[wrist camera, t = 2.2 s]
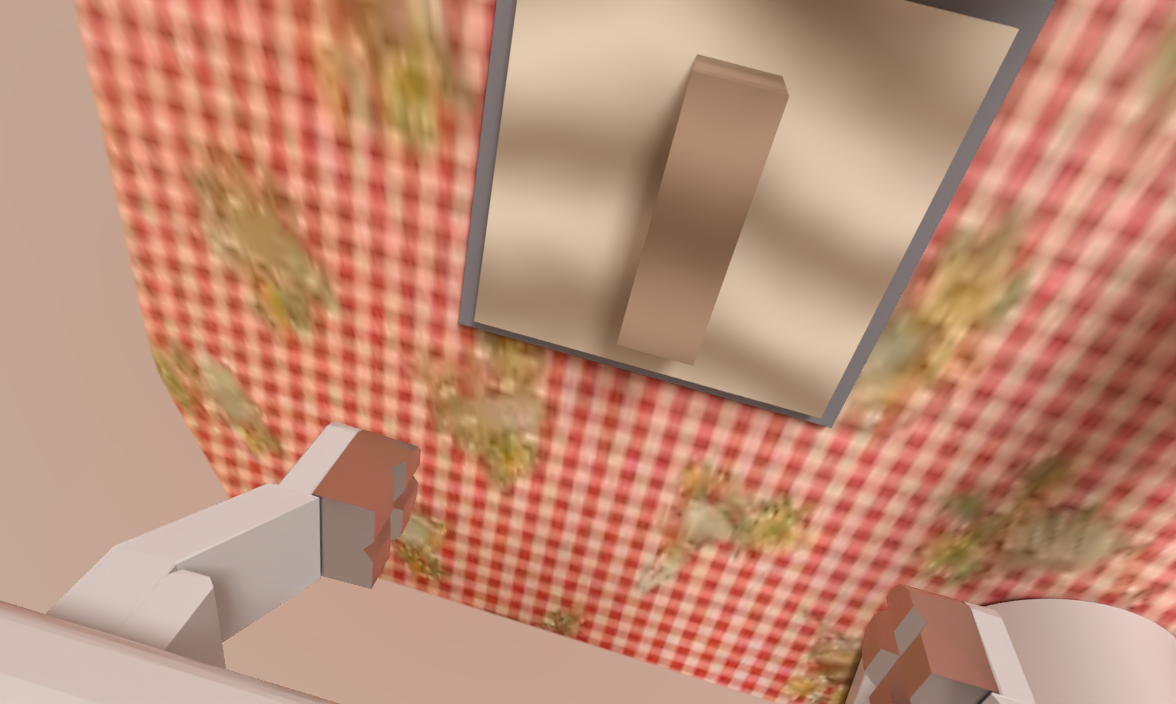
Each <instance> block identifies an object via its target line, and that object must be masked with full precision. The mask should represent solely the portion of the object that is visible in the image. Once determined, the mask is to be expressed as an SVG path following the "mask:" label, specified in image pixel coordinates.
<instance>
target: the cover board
mask: <svg viewBox="0 0 1176 704" xmlns="http://www.w3.org/2000/svg"><path fill="white" fill-rule="evenodd" d="M1018 31H1019V29H1017V28H1014V27H1011V26H1008V25H1004V24H1000V23H996V22H992V21H988V20H984V19H980V18H976V17H972V16H968V15H964V14H960V13H956V12H952V11H948V10H944V9H940V8H936V7H932V6H928V5H924V4H920V3H916V2H912V1H908V0H517V5H516V13H515V20H514V28H513V35H512V43H511V50H510V57H509V65H508V72H507V80H506V87H505V95H504V102H503V110H502V117H501V125H500V132H499V140H498V147H497V155H496V162H495V170H494V177H493V185H492V192H491V200H490V207H489V214H488V222H487V229H486V237H485V244H484V252H483V259H482V267H481V274H480V282H479V289H478V297H477V304H476V312H475V319H474V321H475V322H479V323H482V324H486V325H489V326H493V327H496V328H500V329H504V330H507V331H511V332H514V333H518V334H521V335H525V336H529V337H532V338H536V339H539V340H543V341H546V342H550V343H554V344H557V345H561V346H564V347H568V348H571V349H575V350H579V351H582V352H586V353H589V354H593V355H596V356H600V357H604V358H607V359H611V360H614V361H618V362H621V363H625V364H629V365H632V366H636V367H639V368H643V369H646V370H650V371H654V372H657V373H661V374H664V375H668V376H671V377H675V378H679V379H682V380H686V381H689V382H693V383H696V384H700V385H704V386H707V387H711V388H714V389H718V390H721V391H725V392H729V393H732V394H736V395H739V396H743V397H746V398H750V399H754V400H757V401H761V402H764V403H768V404H771V405H775V406H779V407H782V408H786V409H789V410H793V411H796V412H800V413H804V414H807V415H811V416H814V417H818V418H821V417H822V415H823V413H824V411H825V409H826V407H827V405H828V403H829V401H830V399H831V397H832V396H833V394H834V392H835V390H836V388H837V386H838V384H839V382H840V380H841V378H842V376H843V374H844V372H845V370H846V368H847V366H848V364H849V362H850V360H851V358H852V356H853V354H854V352H855V350H856V348H857V346H858V345H859V343H860V341H861V339H862V337H863V335H864V333H865V331H866V329H867V327H868V325H869V323H870V321H871V319H872V317H873V315H874V313H875V311H876V309H877V307H878V305H879V303H880V301H881V299H882V297H883V295H884V293H885V292H886V290H887V288H888V286H889V284H890V282H891V280H892V278H893V276H894V274H895V272H896V270H897V268H898V266H899V264H900V262H901V260H902V258H903V256H904V254H905V252H906V250H907V248H908V246H909V244H910V242H911V241H912V239H913V237H914V235H915V233H916V231H917V229H918V227H919V225H920V223H921V221H922V219H923V217H924V215H925V213H926V211H927V209H928V207H929V205H930V203H931V201H932V199H933V197H934V195H935V193H936V191H937V190H938V188H939V186H940V184H941V182H942V180H943V178H944V176H945V174H946V172H947V170H948V168H949V166H950V164H951V162H952V160H953V158H954V156H955V154H956V152H957V150H958V148H959V146H960V144H961V142H962V140H963V139H964V137H965V135H966V133H967V131H968V129H969V127H970V125H971V123H972V121H973V119H974V117H975V115H976V113H977V111H978V109H979V107H980V105H981V103H982V101H983V99H984V97H985V95H986V93H987V91H988V89H989V88H990V86H991V84H992V82H993V80H994V78H995V76H996V74H997V72H998V70H999V68H1000V66H1001V64H1002V62H1003V60H1004V58H1005V56H1006V54H1007V52H1008V50H1009V48H1010V46H1011V44H1012V42H1013V40H1014V38H1015V36H1016V35H1017V33H1018Z"/></svg>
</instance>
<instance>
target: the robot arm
mask: <svg viewBox="0 0 1176 704" xmlns="http://www.w3.org/2000/svg"><path fill="white" fill-rule="evenodd" d="M420 451H421V449H420V448H419V447H418V446H414V445H411V444H408V443H405V442H402V441H398V440H395V439H392V438H389V437H386V436H382V435H379V434H376V433H373V432H370V431H366V430H361V429H358V428H355V427H351V426H348V425H345V424H342V423H339V422H336V421H335V422H333V423H331V424H329V425H328V426H326V427H325V429H324V430H323V431H322V432H321V433H320V435H319V436H318V437H317V438H316V439H315V441H314V442H313V443H312V444H311V445H310V447H309V448H308V449H307V450H306V452H305V453H304V454H303V455H302V456H301V458H300V459H299V460H298V461H297V462H296V464H295V465H294V466H293V467H292V468H291V470H290V471H289V472H288V473H287V475H286V476H285V477H284V478H283V479H282V481H281V482H280V483H279V484H278V485H276V484H272V483H267V484H265V485H262V486H260V487H258V488H255V489H253V490H250V491H248V492H245V493H243V494H240V495H238V496H236V497H233V498H231V499H228V500H226V501H223V502H221V503H218V504H216V505H213V506H211V507H209V508H206V509H204V510H202V511H199V512H196V513H194V514H191V515H189V516H187V517H184V518H182V519H179V520H177V521H174V522H172V523H169V524H167V525H164V526H162V527H159V528H157V529H155V530H152V531H150V532H147V533H145V534H142V535H140V536H137V537H135V538H132V539H130V540H128V541H125V542H123V543H120V544H118V545H115V546H114V547H113V548H112V549H111V550H110V551H109V552H108V553H107V554H106V555H105V556H104V557H103V558H102V559H101V560H100V561H99V562H98V563H97V564H96V565H95V566H94V567H93V568H92V569H91V570H90V571H89V572H88V573H87V574H86V575H85V576H84V577H82V578H81V579H80V581H78V582H77V583H76V584H75V585H74V586H73V587H72V588H71V589H70V590H69V591H68V592H67V593H66V594H65V595H64V596H63V597H62V598H61V599H60V600H59V601H58V602H57V603H56V604H55V605H54V606H53V607H52V608H51V609H50V610H49V611H48V612H47V613H46V614H43V613H39V612H36V611H32V610H29V609H26V608H23V607H20V606H16V605H13V604H10V603H6V602H3V601H0V704H339V703H336V702H332V701H329V700H326V699H322V698H319V697H316V696H312V695H309V694H306V693H302V692H299V691H296V690H293V689H289V688H286V687H283V686H280V685H276V684H273V683H270V682H266V681H263V680H260V679H256V678H253V677H250V676H246V675H243V674H240V673H237V672H233V671H230V670H227V669H226V667H225V660H224V653H223V647H222V642H224V641H225V640H227V639H229V638H230V637H232V636H233V635H235V634H236V633H238V632H239V631H241V630H243V629H244V628H246V627H247V626H249V625H250V624H252V623H253V622H255V621H256V620H258V619H259V618H261V617H262V616H264V615H266V614H267V613H269V612H270V611H272V610H273V609H275V608H276V607H278V606H279V605H281V604H282V603H284V602H285V601H287V600H288V599H290V598H292V597H293V596H295V595H296V594H298V593H299V592H301V591H302V590H304V589H306V588H307V587H309V586H310V585H312V584H313V583H315V582H316V581H318V580H319V579H320V578H321V576H325V577H328V578H332V579H336V580H340V581H344V582H347V583H351V584H355V585H358V586H363V587H366V588H370V589H371V588H372V587H373V585H374V583H375V582H376V580H377V578H378V576H379V575H380V573H381V571H382V569H383V567H384V566H385V564H386V562H387V560H388V558H389V554H390V542H391V541H393V540H395V539H396V538H398V537H400V536H401V535H402V533H403V531H404V529H405V527H406V525H407V523H408V521H409V518H410V516H411V513H412V510H413V508H414V504H415V500H416V495H417V488H418V482H417V481H416V479H415V478H414V476H413V475H414V473H415V472H416V470H417V468H418V466H419V465H420ZM886 599H887V603H888V608H889V609H888V610H885V611H882V612H880V613H877V614H874V616H873V617H872V619H871V621H870V622H869V624H868V625H867V627H866V630H865V634H864V638H863V642H862V658H861V661H860V663H859V666H858V669H857V672H856V674H855V677H854V680H853V683H852V685H851V688H850V691H849V694H848V696H847V699H846V702H845V704H1176V638H1175V637H1174V636H1173V635H1172V634H1171V633H1169V632H1168V631H1167V630H1165V629H1164V628H1162V627H1161V626H1159V625H1157V624H1156V623H1154V622H1152V621H1150V620H1148V619H1146V618H1144V617H1142V616H1140V615H1137V614H1135V613H1132V612H1129V611H1126V610H1123V609H1120V608H1116V607H1113V606H1109V605H1104V604H1099V603H1094V602H1088V601H1080V600H1069V599H1029V600H1018V601H1010V602H1004V603H998V604H993V605H989V606H985V607H983V606H979V605H975V604H972V603H968V602H964V601H959V600H957V599H953V598H949V597H946V596H942V595H939V594H935V593H931V592H928V591H924V590H920V589H917V588H913V587H910V586H906V585H902V584H900V585H898V586H897V587H895V588H893V589H892V591H891V592H890V594H889V595H888V596H887V598H886Z"/></svg>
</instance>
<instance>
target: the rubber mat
mask: <svg viewBox="0 0 1176 704" xmlns="http://www.w3.org/2000/svg"><path fill="white" fill-rule="evenodd" d="M908 1H912V2H916V3H920V4H924V5H928V6H932V7H936V8H940V9H944V10H948V11H952V12H956V13H960V14H964V15H968V16H972V17H976V18H980V19H984V20H988V21H992V22H996V23H1000V24H1004V25H1008V26H1011V27H1014V28H1017V29H1019V31H1018V33H1017V35H1016V36H1015V38H1014V40H1013V42H1012V44H1011V46H1010V48H1009V50H1008V52H1007V54H1006V56H1005V58H1004V60H1003V62H1002V64H1001V66H1000V68H999V70H998V72H997V74H996V76H995V78H994V80H993V82H992V84H991V86H990V88H989V89H988V91H987V93H986V95H985V97H984V99H983V101H982V103H981V105H980V107H979V109H978V111H977V113H976V115H975V117H974V119H973V121H972V123H971V125H970V127H969V129H968V131H967V133H966V135H965V137H964V139H963V140H962V142H961V144H960V146H959V148H958V150H957V152H956V154H955V156H954V158H953V160H952V162H951V164H950V166H949V168H948V170H947V172H946V174H945V176H944V178H943V180H942V182H941V184H940V186H939V188H938V190H937V191H936V193H935V195H934V197H933V199H932V201H931V203H930V205H929V207H928V209H927V211H926V213H925V215H924V217H923V219H922V221H921V223H920V225H919V227H918V229H917V231H916V233H915V235H914V237H913V239H912V241H911V242H910V244H909V246H908V248H907V250H906V252H905V254H904V256H903V258H902V260H901V262H900V264H899V266H898V268H897V270H896V272H895V274H894V276H893V278H892V280H891V282H890V284H889V286H888V288H887V290H886V292H885V293H884V295H883V297H882V299H881V301H880V303H879V305H878V307H877V309H876V311H875V313H874V315H873V317H872V319H871V321H870V323H869V325H868V327H867V329H866V331H865V333H864V335H863V337H862V339H861V341H860V343H859V345H858V346H857V348H856V350H855V352H854V354H853V356H852V358H851V360H850V362H849V364H848V366H847V368H846V370H845V372H844V374H843V376H842V378H841V380H840V382H839V384H838V386H837V388H836V390H835V392H834V394H833V396H832V397H831V399H830V401H829V403H828V405H827V407H826V409H825V411H824V413H823V415H822V417H821V418H818V417H814V416H811V415H807V414H804V413H800V412H796V411H793V410H789V409H786V408H782V407H779V406H775V405H771V404H768V403H764V402H761V401H757V400H754V399H750V398H746V397H743V396H739V395H736V394H732V393H729V392H725V391H721V390H718V389H714V388H711V387H707V386H704V385H700V384H696V383H693V382H689V381H686V380H682V379H679V378H675V377H671V376H668V375H664V374H661V373H657V372H654V371H650V370H646V369H643V368H639V367H636V366H632V365H629V364H625V363H621V362H618V361H614V360H611V359H607V358H604V357H600V356H596V355H593V354H589V353H586V352H582V351H579V350H575V349H571V348H568V347H564V346H561V345H557V344H554V343H550V342H546V341H543V340H539V339H536V338H532V337H529V336H525V335H521V334H518V333H514V332H511V331H507V330H504V329H500V328H496V327H493V326H489V325H486V324H482V323H479V322H475V321H474V319H475V312H476V304H477V297H478V289H479V282H480V274H481V267H482V259H483V252H484V244H485V237H486V229H487V222H488V214H489V207H490V200H491V192H492V185H493V177H494V170H495V162H496V155H497V147H498V140H499V132H500V125H501V117H502V110H503V102H504V95H505V87H506V80H507V72H508V65H509V57H510V50H511V43H512V35H513V28H514V20H515V13H516V5H517V0H497V4H496V12H495V20H494V29H493V37H492V46H491V54H490V62H489V71H488V79H487V88H486V96H485V104H484V113H483V121H482V130H481V138H480V146H479V155H478V163H477V172H476V180H475V188H474V197H473V205H472V214H471V222H470V230H469V239H468V247H467V256H466V264H465V272H464V281H463V289H462V298H461V306H460V314H459V324H463V325H466V326H470V327H473V328H477V329H481V330H484V331H488V332H491V333H495V334H498V335H502V336H505V337H509V338H513V339H516V340H520V341H523V342H527V343H530V344H534V345H538V346H541V347H545V348H548V349H552V350H555V351H559V352H563V353H566V354H570V355H573V356H577V357H580V358H584V359H587V360H591V361H595V362H598V363H602V364H605V365H609V366H612V367H616V368H620V369H623V370H627V371H630V372H634V373H637V374H641V375H645V376H648V377H652V378H655V379H659V380H662V381H666V382H669V383H673V384H677V385H680V386H684V387H687V388H691V389H694V390H698V391H702V392H705V393H709V394H712V395H716V396H719V397H723V398H727V399H730V400H734V401H737V402H741V403H744V404H748V405H751V406H755V407H759V408H762V409H766V410H769V411H773V412H776V413H780V414H784V415H787V416H791V417H794V418H798V419H801V420H805V421H809V422H812V423H816V424H819V425H823V426H826V427H830V428H832V426H833V424H834V422H835V420H836V418H837V416H838V414H839V413H840V411H841V409H842V407H843V405H844V403H845V401H846V399H847V397H848V395H849V394H850V392H851V390H852V388H853V386H854V384H855V382H856V380H857V378H858V376H859V375H860V373H861V371H862V369H863V367H864V365H865V363H866V361H867V359H868V357H869V356H870V354H871V352H872V350H873V348H874V346H875V344H876V342H877V340H878V338H879V337H880V335H881V333H882V331H883V329H884V327H885V325H886V323H887V321H888V319H889V317H890V316H891V314H892V312H893V310H894V308H895V306H896V304H897V302H898V300H899V298H900V297H901V295H902V293H903V291H904V289H905V287H906V285H907V283H908V281H909V279H910V278H911V276H912V274H913V272H914V270H915V268H916V266H917V264H918V262H919V260H920V259H921V257H922V255H923V253H924V251H925V249H926V247H927V245H928V243H929V241H930V240H931V238H932V236H933V234H934V232H935V230H936V228H937V226H938V224H939V222H940V221H941V219H942V217H943V215H944V213H945V211H946V209H947V207H948V205H949V203H950V202H951V200H952V198H953V196H954V194H955V192H956V190H957V188H958V186H959V184H960V183H961V181H962V179H963V177H964V175H965V173H966V171H967V169H968V167H969V165H970V164H971V162H972V160H973V158H974V156H975V154H976V152H977V150H978V148H979V146H980V144H981V143H982V141H983V139H984V137H985V135H986V133H987V131H988V129H989V127H990V125H991V124H992V122H993V120H994V118H995V116H996V114H997V112H998V110H999V108H1000V106H1001V105H1002V103H1003V101H1004V99H1005V97H1006V95H1007V93H1008V91H1009V89H1010V87H1011V86H1012V84H1013V82H1014V80H1015V78H1016V76H1017V74H1018V72H1019V70H1020V68H1021V67H1022V65H1023V63H1024V61H1025V59H1026V57H1027V55H1028V53H1029V51H1030V49H1031V48H1032V46H1033V44H1034V42H1035V40H1036V38H1037V36H1038V34H1039V32H1040V30H1041V29H1042V27H1043V25H1044V23H1045V21H1046V19H1047V17H1048V15H1049V13H1050V11H1051V10H1052V8H1053V6H1054V4H1055V2H1056V0H908Z"/></svg>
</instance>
